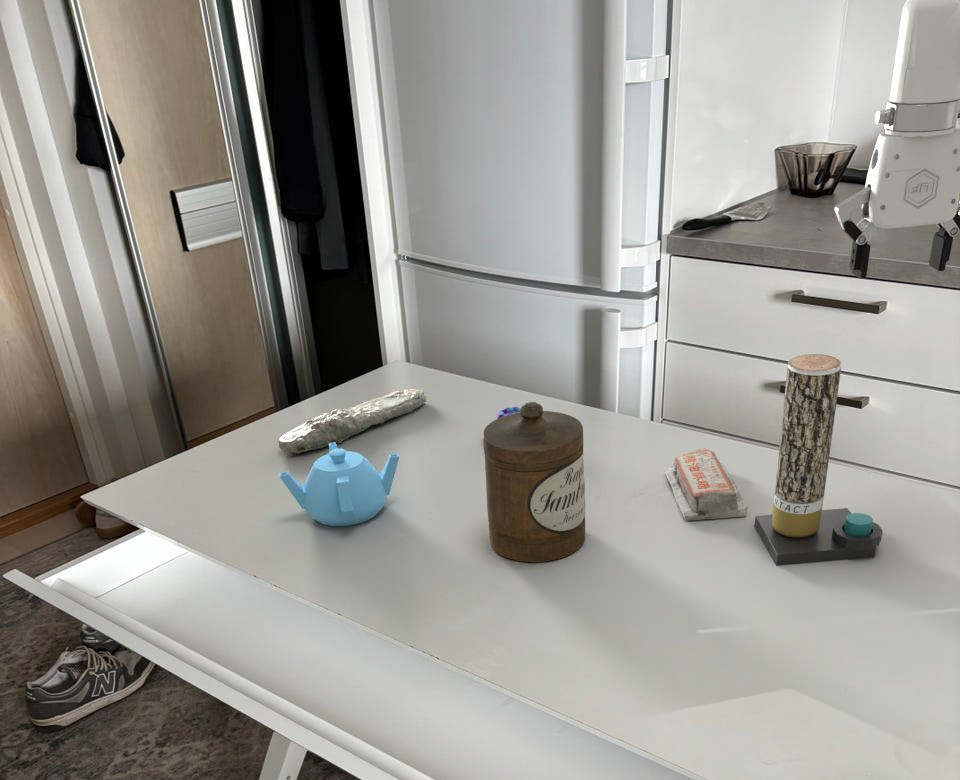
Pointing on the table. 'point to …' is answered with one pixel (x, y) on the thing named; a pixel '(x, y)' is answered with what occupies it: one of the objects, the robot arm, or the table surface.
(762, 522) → the push button base
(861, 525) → the tare button
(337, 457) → the teapot
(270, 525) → the table surface
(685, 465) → the packaged product
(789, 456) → the paper tube
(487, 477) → the wooden container
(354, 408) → the foil wrapped baguette
